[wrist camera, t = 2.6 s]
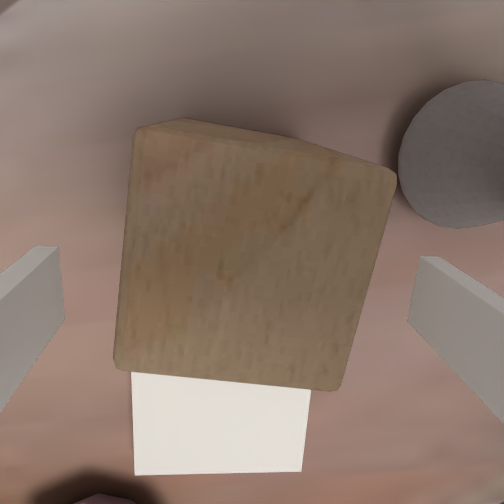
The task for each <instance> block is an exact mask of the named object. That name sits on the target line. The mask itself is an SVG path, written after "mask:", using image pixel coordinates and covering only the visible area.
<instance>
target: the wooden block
mask: <svg viewBox="0 0 504 504" xmlns="http://www.w3.org/2000/svg"><path fill="white" fill-rule="evenodd" d="M396 186H397V175H396V173H394V172H393V171H392V170H390V169H389V168H386V167H383V166H380V165H377V164H374V163H371V162H368V161H365V160H362V159H359V158H355V157H352V156H349V155H346V154H343V153H340V152H337V151H334V150H331V149H328V148H325V147H321V146H318V145H315V144H312V143H309V142H306V141H303V140H300V139H297V138H292V137H286V136H281V135H275V134H270V133H264V132H259V131H253V130H248V129H242V128H237V127H231V126H226V125H220V124H215V123H210V122H204V121H199V120H193V119H188V118H181V119H176V120H171V121H167V122H162V123H157V124H153V125H148V126H144V127H140V128H138V129H137V131H136V132H135V134H134V136H133V141H132V152H131V163H130V174H129V185H128V196H127V207H126V218H125V229H124V240H123V251H122V262H121V273H120V284H119V295H118V306H117V317H116V328H115V339H114V350H113V359H114V362H115V366H116V368H117V369H119V370H122V371H128V372H138V373H148V374H158V375H168V376H178V377H188V378H198V379H208V380H218V381H228V382H238V383H248V384H258V385H268V386H278V387H288V388H298V389H308V390H318V391H328V392H332V391H336V390H338V389H339V387H340V386H341V383H342V379H343V375H344V372H345V368H346V365H347V361H348V358H349V354H350V350H351V347H352V343H353V340H354V336H355V333H356V329H357V325H358V322H359V318H360V315H361V311H362V307H363V304H364V300H365V297H366V293H367V290H368V286H369V282H370V279H371V275H372V272H373V268H374V265H375V261H376V257H377V254H378V250H379V247H380V243H381V239H382V236H383V232H384V229H385V225H386V222H387V218H388V214H389V211H390V207H391V204H392V200H393V197H394V193H395V189H396Z"/></svg>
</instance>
